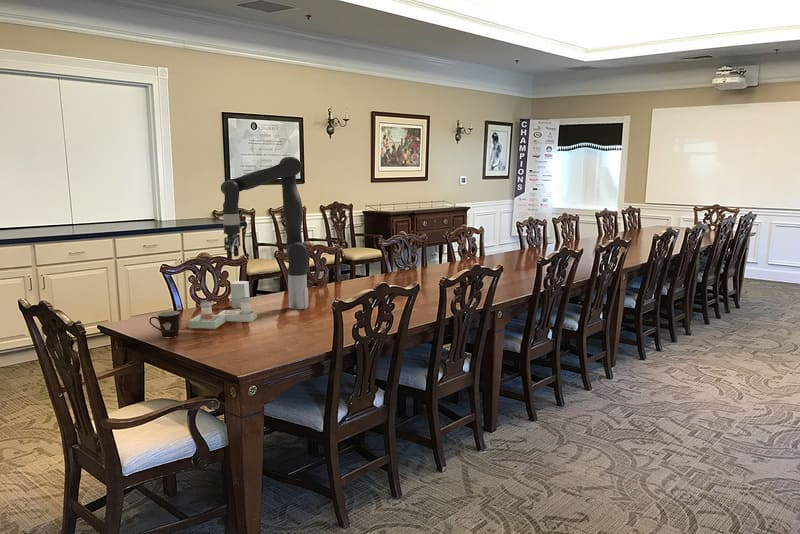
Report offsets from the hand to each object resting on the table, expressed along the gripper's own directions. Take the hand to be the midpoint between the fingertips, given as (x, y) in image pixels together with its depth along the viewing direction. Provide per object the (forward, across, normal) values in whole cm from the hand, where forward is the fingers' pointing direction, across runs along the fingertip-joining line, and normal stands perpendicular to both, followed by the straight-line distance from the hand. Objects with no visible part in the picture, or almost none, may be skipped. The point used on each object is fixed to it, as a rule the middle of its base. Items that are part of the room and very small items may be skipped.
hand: (233, 257), depth 294 cm
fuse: (+27, -11, -9) cm, 31 cm away
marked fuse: (+27, -22, +5) cm, 35 cm away
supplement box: (+28, +18, +4) cm, 34 cm away
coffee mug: (+28, -38, +16) cm, 50 cm away
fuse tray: (+28, -22, +5) cm, 36 cm away
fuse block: (+28, -11, -5) cm, 31 cm away
